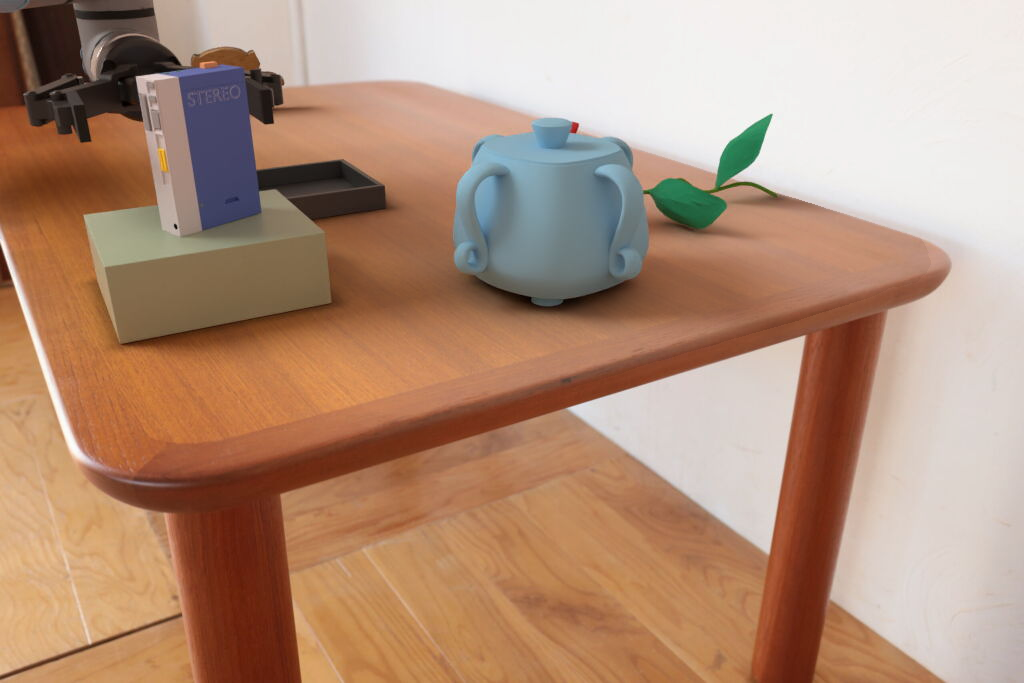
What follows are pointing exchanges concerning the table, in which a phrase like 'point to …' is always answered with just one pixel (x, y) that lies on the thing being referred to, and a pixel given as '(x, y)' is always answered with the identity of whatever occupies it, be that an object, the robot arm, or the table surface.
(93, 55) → the robot arm
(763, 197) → the table surface
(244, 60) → the wooden carving
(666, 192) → the decorative flower
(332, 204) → the tray
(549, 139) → the decorative pot
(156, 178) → the walkman
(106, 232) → the block
